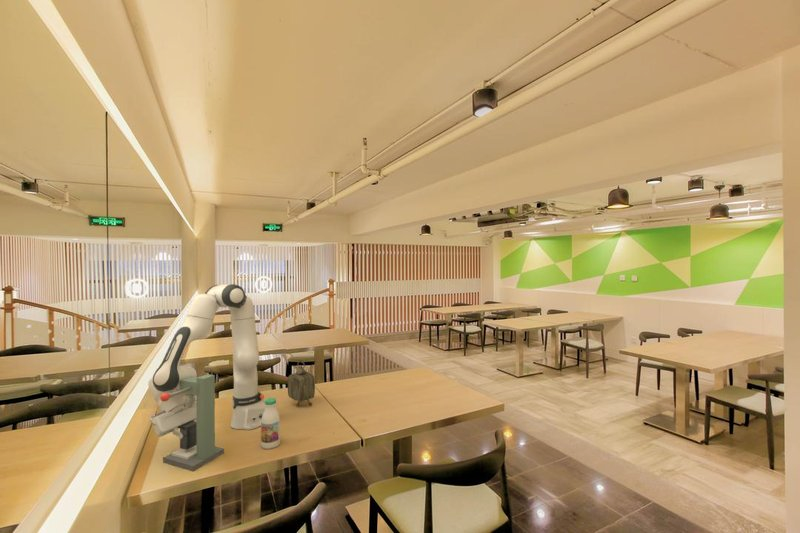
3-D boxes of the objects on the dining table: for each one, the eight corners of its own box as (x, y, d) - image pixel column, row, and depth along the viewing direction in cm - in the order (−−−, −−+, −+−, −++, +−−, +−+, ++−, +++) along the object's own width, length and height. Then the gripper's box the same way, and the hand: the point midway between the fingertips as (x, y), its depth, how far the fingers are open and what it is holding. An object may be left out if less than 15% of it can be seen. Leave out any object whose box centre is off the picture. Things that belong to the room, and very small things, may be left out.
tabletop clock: (315, 405, 196) (314, 361, 196) (301, 410, 189) (300, 364, 189) (300, 399, 205) (300, 357, 205) (286, 404, 198) (286, 360, 198)
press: (143, 472, 132) (143, 383, 132) (195, 445, 152) (194, 368, 152) (174, 482, 126) (174, 388, 126) (224, 453, 146) (223, 372, 146)
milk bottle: (264, 441, 156) (264, 396, 156) (281, 440, 156) (281, 395, 156) (258, 450, 148) (258, 403, 148) (277, 449, 149) (277, 402, 149)
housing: (191, 442, 146) (191, 420, 146) (198, 444, 145) (198, 422, 145) (179, 448, 141) (179, 425, 142) (186, 449, 140) (186, 427, 140)
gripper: (152, 411, 136) (168, 441, 132) (199, 394, 155) (215, 419, 151) (144, 421, 138) (161, 450, 134) (192, 402, 157) (208, 428, 153)
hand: (190, 434), depth 143 cm, fingers closed on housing, 5 cm apart
